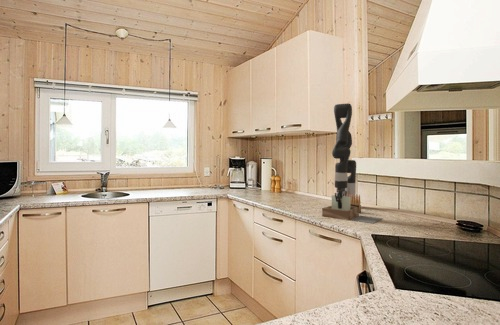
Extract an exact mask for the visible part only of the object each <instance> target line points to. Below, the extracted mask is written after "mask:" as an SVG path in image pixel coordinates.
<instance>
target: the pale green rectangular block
mask: <svg viewBox="0 0 500 325" xmlns="http://www.w3.org/2000/svg"><path fill="white" fill-rule="evenodd" d="M350 201H351V197H350V196H343V199H342V208H341V209H339V208H338V202H336V198H335V194H332V195H331V205H332V209H336V210H345V211H348V210H350Z"/></svg>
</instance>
